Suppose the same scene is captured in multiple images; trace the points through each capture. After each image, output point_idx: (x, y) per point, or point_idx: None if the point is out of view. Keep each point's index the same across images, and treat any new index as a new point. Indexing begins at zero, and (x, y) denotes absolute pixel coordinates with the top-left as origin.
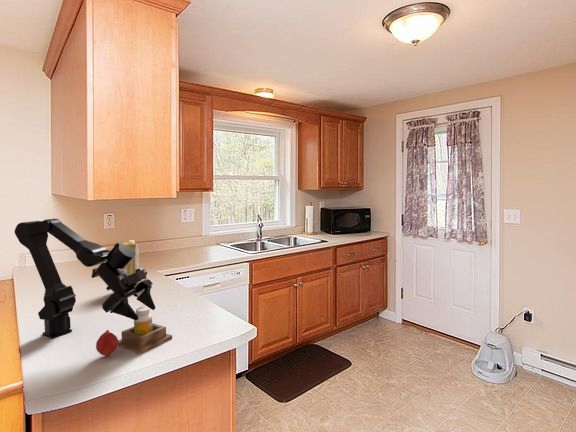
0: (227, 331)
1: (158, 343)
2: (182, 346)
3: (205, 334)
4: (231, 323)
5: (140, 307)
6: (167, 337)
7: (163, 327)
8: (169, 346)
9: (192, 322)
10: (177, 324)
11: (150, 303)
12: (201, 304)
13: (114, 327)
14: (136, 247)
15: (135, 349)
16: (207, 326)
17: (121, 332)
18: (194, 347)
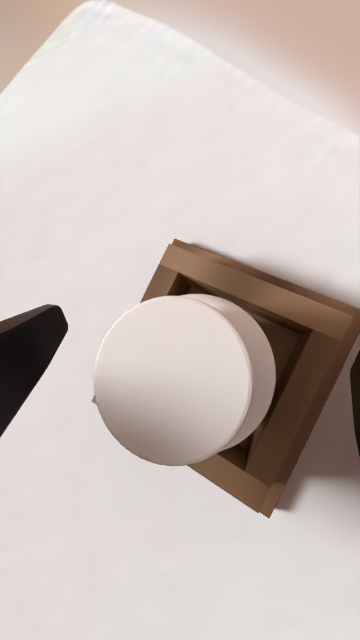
0: (110, 64)
1: (254, 271)
2: (259, 162)
3: (137, 129)
4: (41, 86)
5: (117, 431)
6: (199, 249)
7: (176, 255)
8: (264, 217)
9: (24, 234)
10: (40, 287)
11: (7, 353)
12: None
13: (59, 600)
14: None
15: (346, 356)
16: (64, 158)
17: (258, 508)
18: (265, 109)
